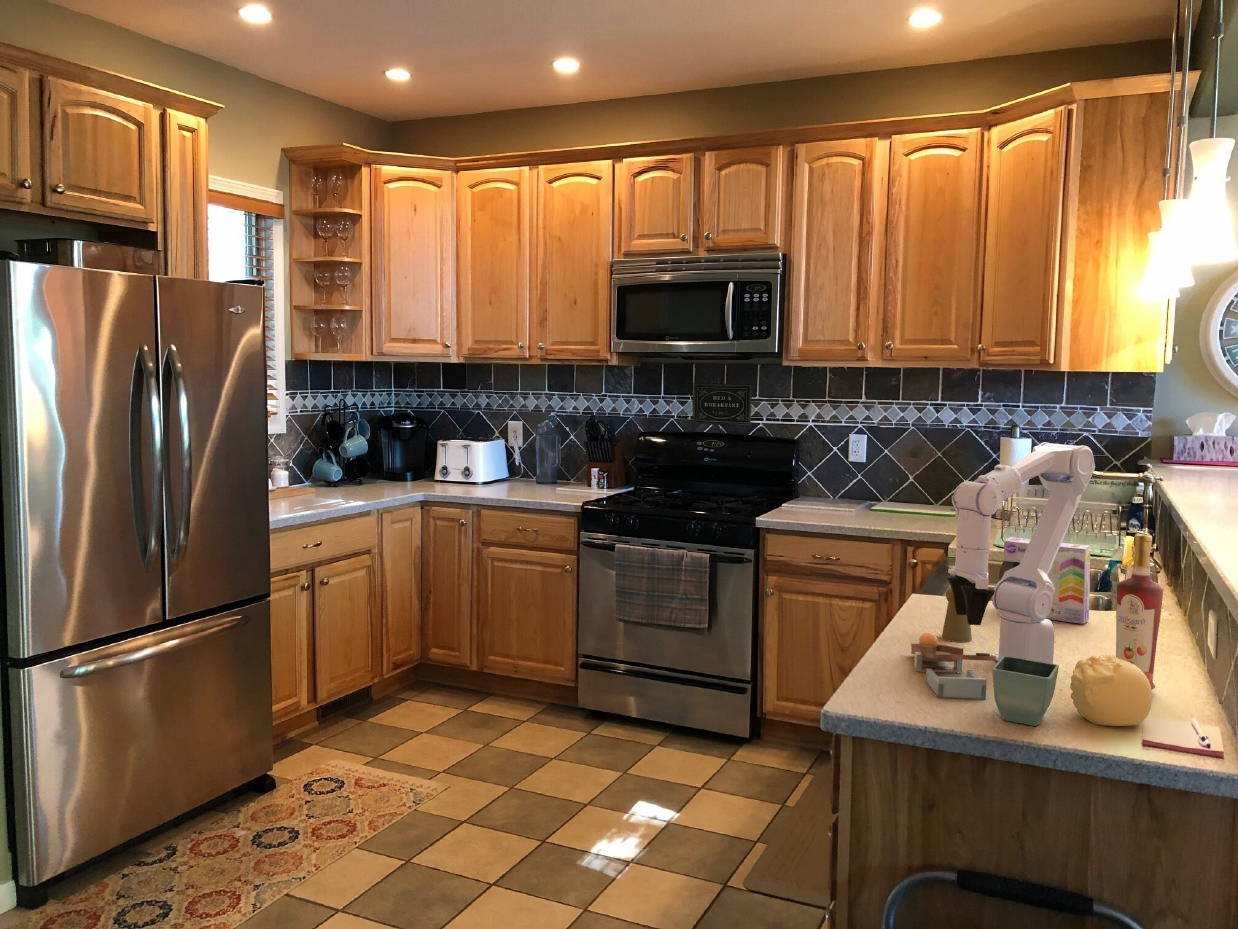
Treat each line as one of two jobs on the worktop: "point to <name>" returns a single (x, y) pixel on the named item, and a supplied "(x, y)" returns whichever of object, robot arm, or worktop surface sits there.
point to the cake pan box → (1059, 578)
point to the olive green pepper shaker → (955, 623)
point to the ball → (928, 640)
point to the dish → (957, 686)
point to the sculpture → (1110, 691)
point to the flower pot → (1023, 688)
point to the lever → (947, 653)
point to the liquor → (1139, 612)
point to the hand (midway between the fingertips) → (968, 619)
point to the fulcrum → (920, 668)
